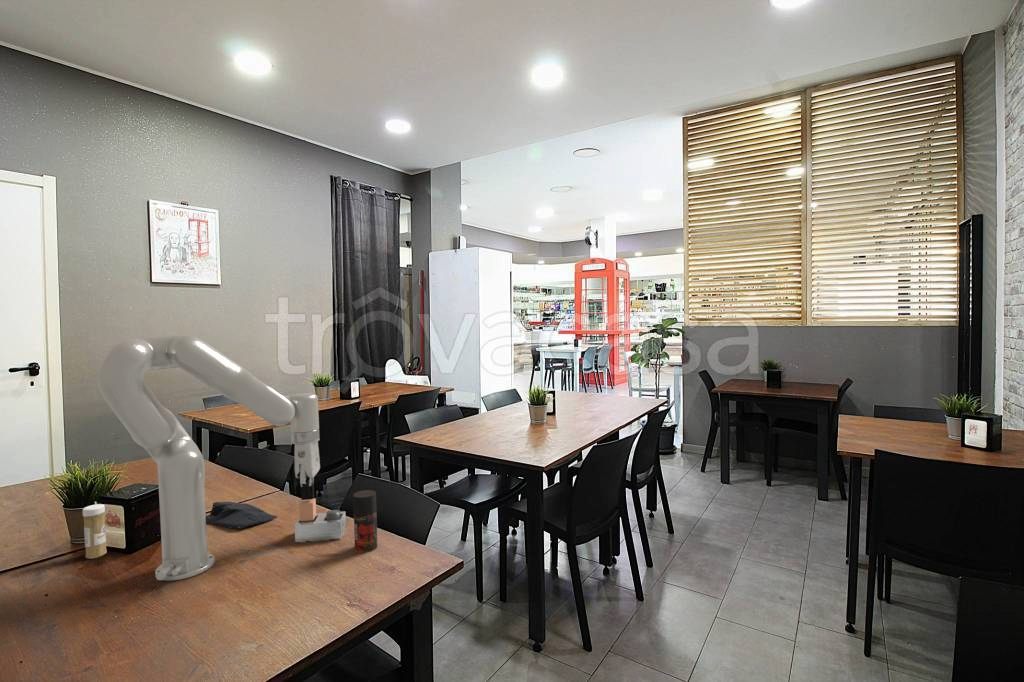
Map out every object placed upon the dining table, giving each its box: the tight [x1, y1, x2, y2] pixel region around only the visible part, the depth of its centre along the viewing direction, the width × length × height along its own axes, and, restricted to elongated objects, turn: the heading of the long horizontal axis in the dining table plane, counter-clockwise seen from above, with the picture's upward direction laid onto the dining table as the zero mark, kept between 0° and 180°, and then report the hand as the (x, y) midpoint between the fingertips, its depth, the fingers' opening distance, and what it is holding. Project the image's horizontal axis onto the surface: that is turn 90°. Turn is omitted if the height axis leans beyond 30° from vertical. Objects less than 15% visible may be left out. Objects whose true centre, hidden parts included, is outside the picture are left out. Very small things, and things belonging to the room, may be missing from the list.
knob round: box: [325, 509, 341, 521], centre depth 145 cm, size 4×4×5 cm
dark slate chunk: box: [206, 501, 277, 530], centre depth 158 cm, size 15×22×5 cm
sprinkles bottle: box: [82, 503, 108, 560], centre depth 134 cm, size 5×5×13 cm
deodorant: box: [352, 489, 378, 554], centre depth 136 cm, size 6×6×15 cm
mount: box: [294, 511, 347, 543], centre depth 144 cm, size 8×12×6 cm, turn 99°
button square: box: [299, 497, 317, 521], centre depth 144 cm, size 4×4×5 cm
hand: (307, 498), depth 144 cm, fingers closed
